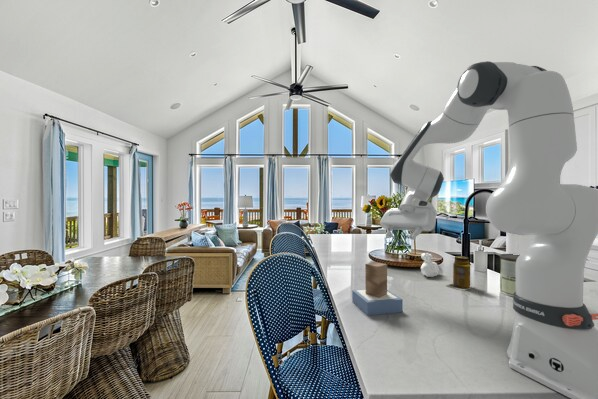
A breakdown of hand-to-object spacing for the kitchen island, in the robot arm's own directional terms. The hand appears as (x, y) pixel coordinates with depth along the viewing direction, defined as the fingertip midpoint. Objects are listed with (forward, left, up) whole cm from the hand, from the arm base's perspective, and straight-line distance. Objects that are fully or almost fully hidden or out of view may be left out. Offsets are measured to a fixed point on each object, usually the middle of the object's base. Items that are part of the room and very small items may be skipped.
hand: (399, 237), depth 103 cm
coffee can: (-6, -45, -22) cm, 50 cm away
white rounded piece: (+24, -30, -22) cm, 44 cm away
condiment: (+6, -31, -22) cm, 38 cm away
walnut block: (-6, +12, -18) cm, 22 cm away
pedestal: (-6, +12, -22) cm, 26 cm away
